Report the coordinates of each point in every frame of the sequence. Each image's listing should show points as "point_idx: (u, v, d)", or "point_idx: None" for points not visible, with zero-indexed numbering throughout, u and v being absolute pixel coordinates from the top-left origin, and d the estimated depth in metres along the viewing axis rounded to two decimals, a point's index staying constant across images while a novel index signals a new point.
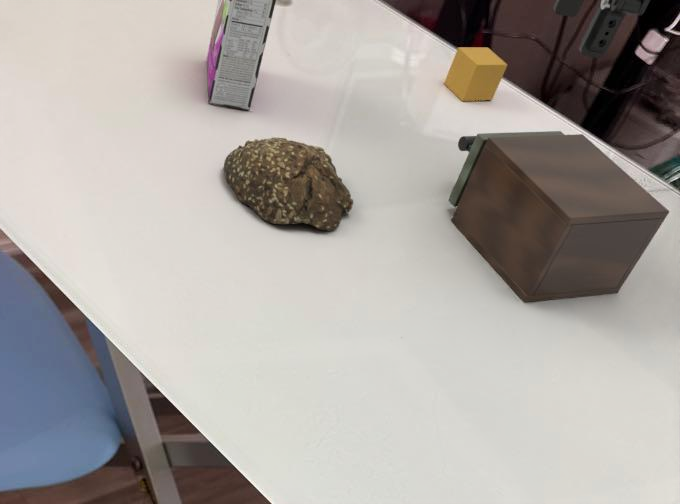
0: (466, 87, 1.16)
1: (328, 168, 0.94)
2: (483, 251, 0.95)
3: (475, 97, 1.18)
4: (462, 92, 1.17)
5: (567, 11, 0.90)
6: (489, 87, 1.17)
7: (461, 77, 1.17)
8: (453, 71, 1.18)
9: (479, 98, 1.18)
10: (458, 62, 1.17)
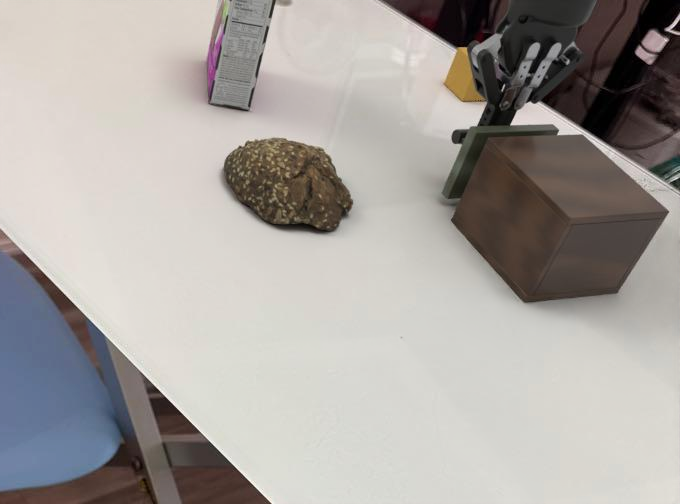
0: (466, 87, 1.16)
1: (328, 168, 0.94)
2: (483, 251, 0.95)
3: (475, 97, 1.18)
4: (462, 92, 1.17)
5: None
6: None
7: (461, 77, 1.17)
8: (453, 71, 1.18)
9: (479, 98, 1.18)
10: (458, 62, 1.17)
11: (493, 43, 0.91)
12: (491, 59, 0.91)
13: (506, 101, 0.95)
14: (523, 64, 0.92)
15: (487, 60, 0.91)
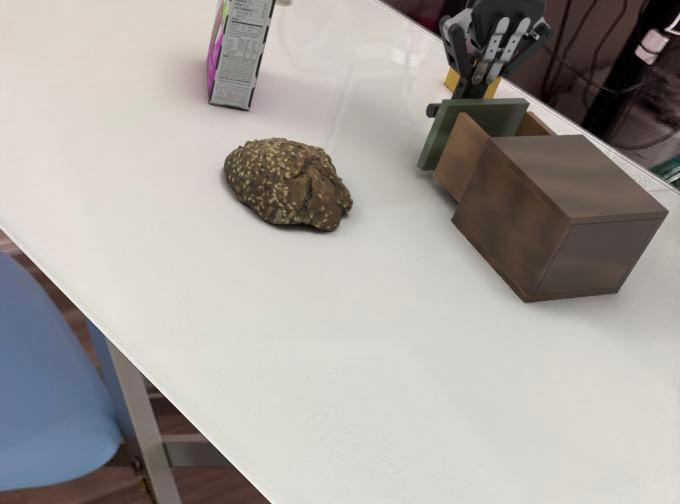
0: None
1: (328, 168, 0.94)
2: (483, 251, 0.95)
3: None
4: None
5: None
6: (489, 87, 1.17)
7: None
8: (453, 71, 1.18)
9: None
10: None
11: (464, 18, 0.94)
12: (462, 33, 0.94)
13: (478, 75, 0.98)
14: (493, 38, 0.95)
15: (458, 34, 0.94)
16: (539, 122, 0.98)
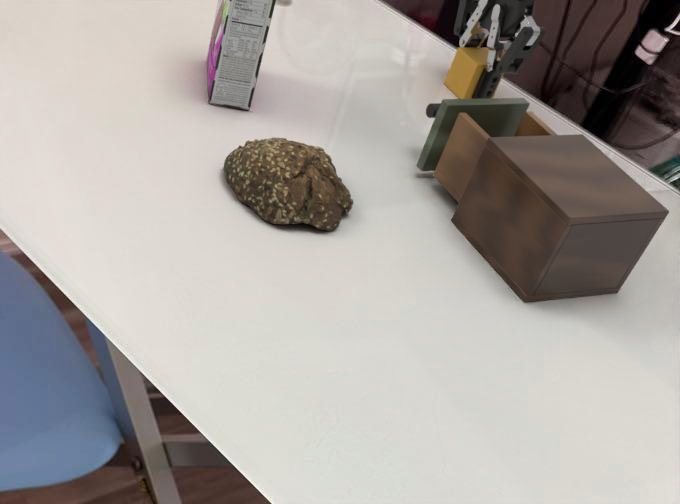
0: (466, 87, 1.16)
1: (328, 168, 0.94)
2: (483, 251, 0.95)
3: None
4: (462, 92, 1.17)
5: None
6: None
7: (461, 77, 1.17)
8: (453, 71, 1.18)
9: None
10: (458, 62, 1.17)
11: None
12: None
13: (463, 38, 1.17)
14: (477, 10, 1.13)
15: None
16: (539, 122, 0.98)
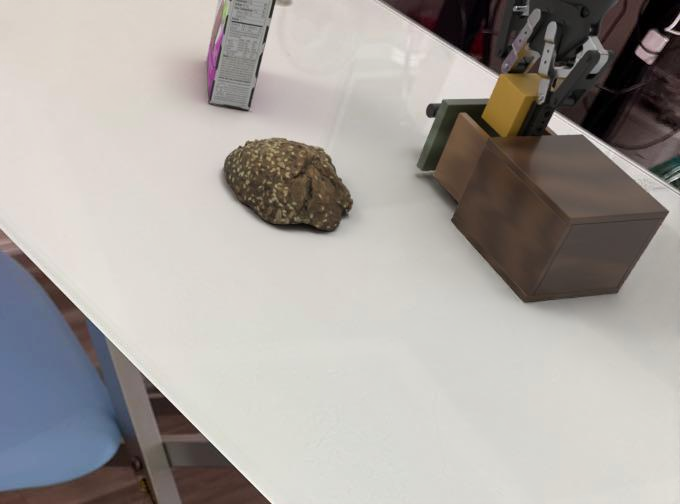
0: (511, 124, 0.94)
1: (328, 168, 0.94)
2: (483, 251, 0.95)
3: None
4: (505, 129, 0.95)
5: None
6: None
7: (503, 110, 0.94)
8: (493, 102, 0.95)
9: None
10: (500, 92, 0.94)
11: None
12: (513, 0, 0.92)
13: (506, 62, 0.94)
14: (526, 28, 0.91)
15: None
16: None
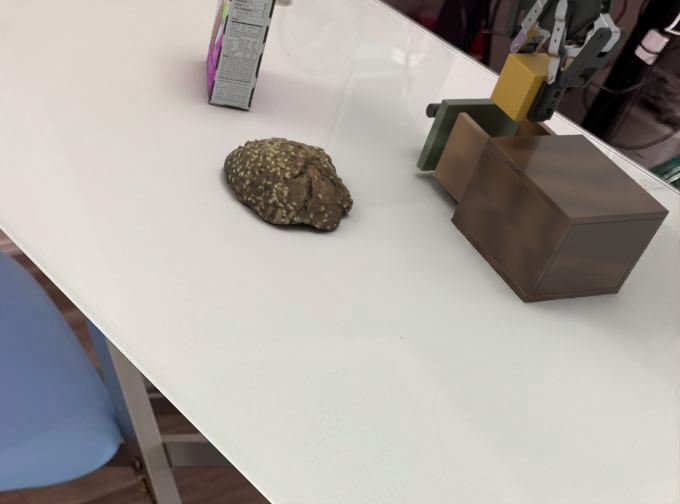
0: (520, 104, 0.92)
1: (328, 168, 0.94)
2: (483, 251, 0.95)
3: None
4: (514, 110, 0.93)
5: None
6: None
7: (512, 91, 0.93)
8: (502, 83, 0.94)
9: None
10: (510, 72, 0.93)
11: None
12: None
13: (516, 42, 0.93)
14: (536, 6, 0.89)
15: None
16: (539, 122, 0.98)
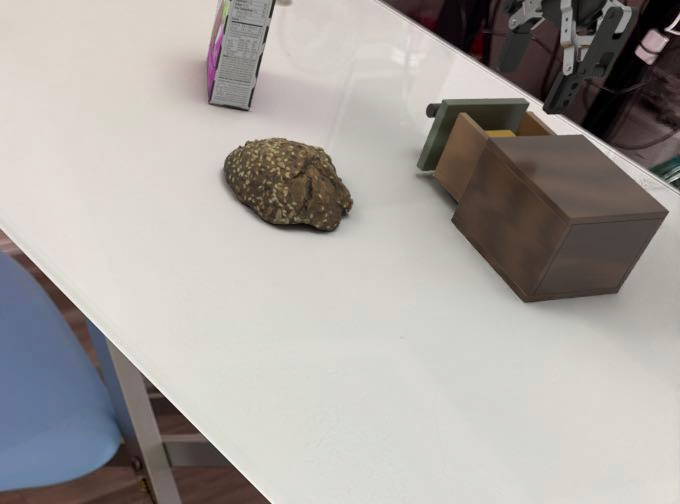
0: None
1: (328, 168, 0.94)
2: (483, 251, 0.95)
3: None
4: None
5: None
6: None
7: None
8: None
9: None
10: None
11: None
12: None
13: (514, 18, 0.92)
14: None
15: None
16: (539, 122, 0.98)
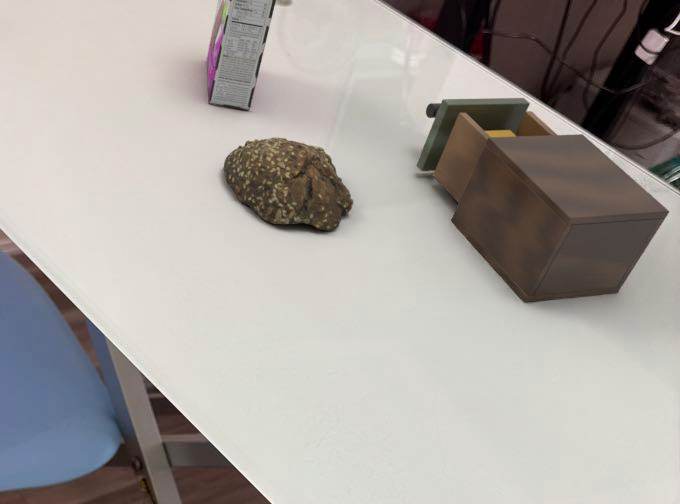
0: None
1: (328, 168, 0.94)
2: (483, 251, 0.95)
3: None
4: None
5: None
6: None
7: None
8: None
9: None
10: None
11: None
12: None
13: None
14: None
15: None
16: (539, 122, 0.98)
